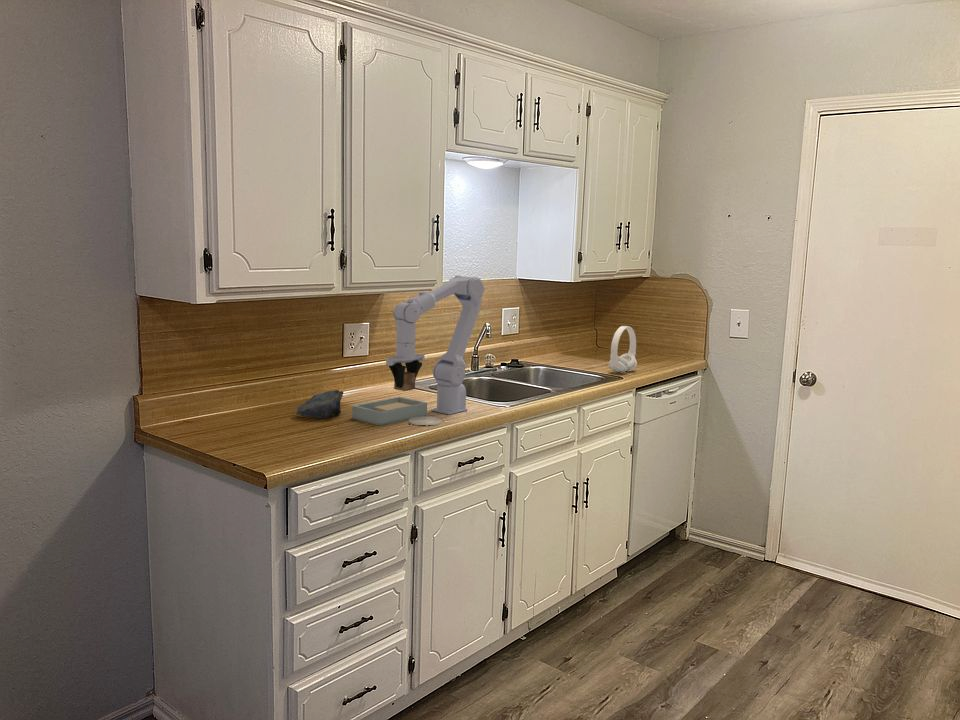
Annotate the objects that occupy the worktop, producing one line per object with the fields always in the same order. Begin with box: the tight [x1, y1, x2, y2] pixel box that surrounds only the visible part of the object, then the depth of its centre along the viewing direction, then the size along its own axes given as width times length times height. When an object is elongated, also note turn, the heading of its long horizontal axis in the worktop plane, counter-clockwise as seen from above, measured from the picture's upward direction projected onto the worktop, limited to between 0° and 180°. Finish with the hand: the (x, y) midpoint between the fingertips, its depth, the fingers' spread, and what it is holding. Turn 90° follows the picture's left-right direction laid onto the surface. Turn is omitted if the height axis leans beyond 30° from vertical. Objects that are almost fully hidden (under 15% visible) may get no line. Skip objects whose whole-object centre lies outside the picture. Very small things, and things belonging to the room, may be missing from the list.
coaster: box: [408, 415, 443, 427], centre depth 236 cm, size 10×10×1 cm
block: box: [393, 371, 416, 392], centre depth 238 cm, size 4×4×5 cm
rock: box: [295, 389, 344, 419], centre depth 239 cm, size 16×8×10 cm
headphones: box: [607, 325, 638, 374], centre depth 333 cm, size 8×19×20 cm, turn 143°
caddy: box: [351, 396, 428, 427], centre depth 241 cm, size 20×12×4 cm, turn 141°
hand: (405, 386), depth 238 cm, fingers closed on block, 4 cm apart
